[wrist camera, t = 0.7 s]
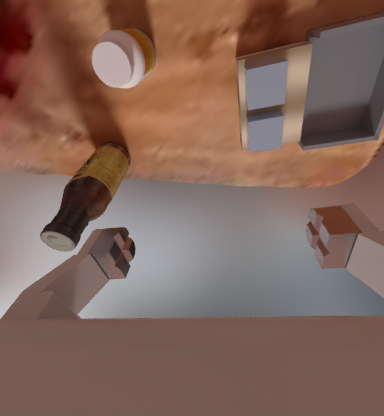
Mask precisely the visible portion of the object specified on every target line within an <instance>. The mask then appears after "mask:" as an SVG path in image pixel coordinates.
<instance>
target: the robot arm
mask: <svg viewBox="0 0 384 416" xmlns="http://www.w3.org/2000/svg"><path fill="white" fill-rule="evenodd" d="M308 217H309V218H310V220H311V221H310V222H309V223H308V224H307V230H306V232H307V238H308V242H309V244H310V246H311V247H312V248H314V249H315V250H316V251H315V256H316V258H317V261H318V263H319V264H320V267H321V268H346V269H347V270H348V271H349V272H351V273H352V274H353V275H354V276H356V277H357V278H358V279H360V280H361V281H363V282H364V283H365V284H366V285H368V286H369V287H370V288H372V289H373V290H374V291H375V292H377V293H378V294H379V295H381V296H382V297H383V298H384V231H382V232H381V231H380V230H379V229H378V228H377V227H376V226H375V225H374V224H373V223H372V222H371V221H370V220H369V218H368V217H367V216H366V215H365V214H364V213H363V212H362V211H361V210H360V209H359V208H358V207H357V206H356V205H355V204H345V205H338V206H330V207H321V208H311V209H310V211H309V216H308ZM128 235H129V232H128V230H127V229H126V228H124V227H120V228H106V229H96V230H94V231H93V232H92V233H91V235H90V236H89V238H88V239H87V241H86V242H85V244H84V245H83V247H82V248H81V250H80V251H79V252H78V254H77V255H74V256H72V257H71V258H69V259H68V260H66V261H65V262H63V263H62V264H61V265H59V266H58V267H56V268H55V269H53V270H52V271H51V272H49V273H48V274H46V275H45V276H44V277H42V278H41V279H39V280H38V281H36V282H35V283H34V284H32V285H31V286H29V287H28V288H27V289H25V290H24V291H23V292H22V293H21V294H20V295H19V297H18V298H17V299H16V301H15V302H14V303H13V304H12V305H11V307H10V308H9V309H8V310H7V312H6V313H5V314H4V315H3V317H2V318H1V319H0V416H384V315H383V316H294V317H293V316H292V317H209V318H208V317H203V318H202V317H201V318H112V319H110V318H109V319H81V318H80V317H79V316H78V315H77V314H78V313H79V312H80V311H81V310H82V309H83V308H84V307H85V306H86V305H87V304H88V303H89V302H90V300H91V299H92V298H93V297H94V296H95V295H96V294H97V293H98V292H99V291H100V290H101V289H102V288H103V287H104V285H105V284H106V283H107V282H108V281H109V279H121V278H126V276H127V273H128V271H129V268H130V264H129V262H130V261H131V260H132V259H133V258H134V255H135V244H134V242H133V240H132V239H131V238H129V237H128Z"/></svg>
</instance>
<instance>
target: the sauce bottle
mask: <svg viewBox="0 0 384 416" xmlns="http://www.w3.org/2000/svg"><path fill="white" fill-rule="evenodd" d="M129 165H130V157H129V155H128V153H127V151H126V150H125V149H124V148H123V147H121V146H120V145H118V144H115V143H104V144H103V145H101V146H100V147H99V148H97V149H96V150H95V152H94V153H93V154H92V155H91V156H90V158H89V159H88V160H87V161H86V162H85V164H84V165H83V166H82V167H81V168H80V169H79V170H78V172H77V173H76V174H75V176H74V177H73V178H72V179H71V180H70V181H69V183H68V184H67V185H66V187H65V189H64V194H63V198H62V203H61V207H60V210H59V212H58V214H57V215H56V216H55V217H54V219H53V220H52V221H51V223H49V224H48V225H46V226H45V228H44V229H43V231H42V232H41V234H40V238H41V240H42V241H43V242H44V243H45V244H47V245H48V246H49V247H51V248H53V249H56V250H59V251H71V250H73V249H74V248H75V247H76V246H77V244H78V242H79V240H80V237H81V236H80V235H81V234H82V232H83V230H84V229H85V227H86V226H87V225H88V222H89V221H92V220H95V219H97V218H98V217H100V215H102V214H103V213H104V211H105V210H106V208H107V206H108V204H109V203H110V202H111V200H112V198H113V196H114V195H115V193H116V191H117V189H118V187H119V185H120V183H121V181H122V180H123V178H124V176H125V174H126V172H127V170H128V167H129Z"/></svg>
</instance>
